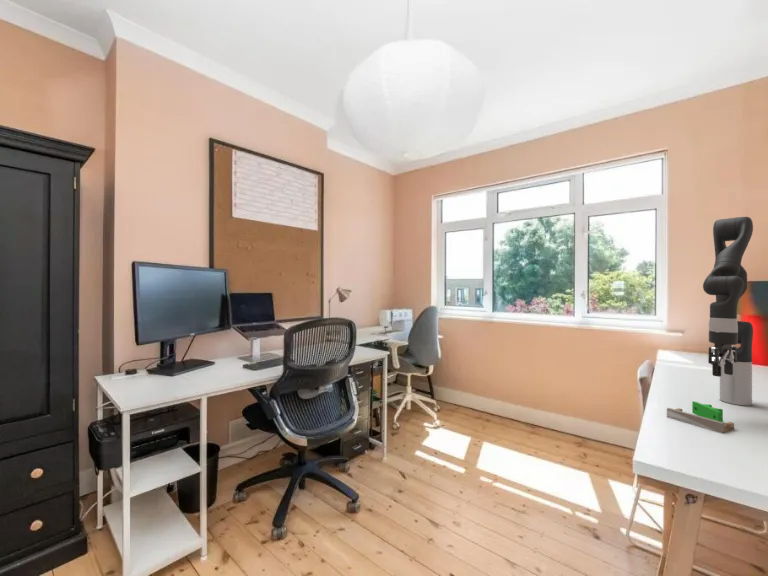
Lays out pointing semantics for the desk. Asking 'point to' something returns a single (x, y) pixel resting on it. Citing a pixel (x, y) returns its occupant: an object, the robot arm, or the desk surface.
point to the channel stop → (699, 420)
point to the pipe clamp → (707, 411)
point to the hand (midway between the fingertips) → (722, 375)
